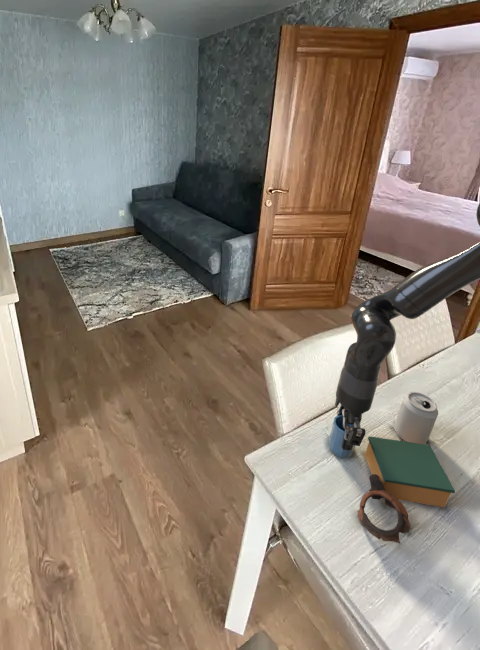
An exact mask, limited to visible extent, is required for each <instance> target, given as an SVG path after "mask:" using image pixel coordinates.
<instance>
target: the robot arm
mask: <svg viewBox="0 0 480 650" xmlns="http://www.w3.org/2000/svg"><path fill="white" fill-rule="evenodd" d="M476 220H477V221H476V222H477V224H478V226H479V227H480V202H479V203H478V205H477V208H476ZM479 280H480V240H479V241H477V242H476V243H475V244H472V245H471V246H470V247H468V248H466V249H464V250H462V251H460V252H458V253H456V254H453V255H450V256H448V257H445V258H442V259H439V260H436V261H433V262H430V263H427V264H426V265H424V266H421V267H420V268H417V269H416V270H415V271H413V272H412V273H410V274H408V276H406V277H405V278H404V279H402V280H401V281H400V282H399V283H397V284H396V285H394V286H393V287H391V288H390V289H389V290H387V291H384V292H382V293H379V294H377V295H375V296H373V297H370V298H369V299H366V300H364V301H362V302H361V303H360V304H359V305H357V306H356V307H355V308H354V310H353V312H352V313H351V323H352V326H353V328H354V330H355V333H356V342H353V343H351V344H350V345H349V346H348V349H347V351H346V355H345V359H344V364H343V366H342V368H341V370H340V374H339V379H338V383H337V386H336V391H335V403H334V406H335V408H337V409H336V412H335V413H336V416H337V415H343V428H344V429H345V433H344V438H343V442H342V449H343V450H348V451H351V450H352V448H353V445H354V447H355V446H356V447H360V446H361V444H362V443H363V440H364V438H365V436H366V433H367V431H366V429H365V428H364V427H361V423H362V418H363V414H365V413H366V412H368V411H369V410H370V409H371V408H372V405H373V401H374V398H375V394H376V391H377V387H378V382H379V375H380V373H381V368H382V365H383V363H384V362H385V360H386V359H387V357H388V356H389V354H391V352H392V351H393V349H394V347H395V344H396V339H397V331H396V328H395V326H394V325H393V323H392V321H391V320H393V319H395V318H397V317H400V316H402V317H403V318H405V319H407V320H415V319H418V318H419V317H421V316H423V315H424V314H425V313H427V312H428V311H430V310H432V309H433V308H434V307H436V306H437V305H438V304H440V303H442V302H443V301H444V300H446V299H447V298H449V297H450V296H452V295H453V294H455V293H457V292H458V291H460V290H462V289H463V288H465V287H468V285H470V284H472V283H474V282H476V281H479ZM347 423H348V424H353V425H354V426H350V425H347ZM349 431H351V432H350V434H348V432H349Z"/></svg>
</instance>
